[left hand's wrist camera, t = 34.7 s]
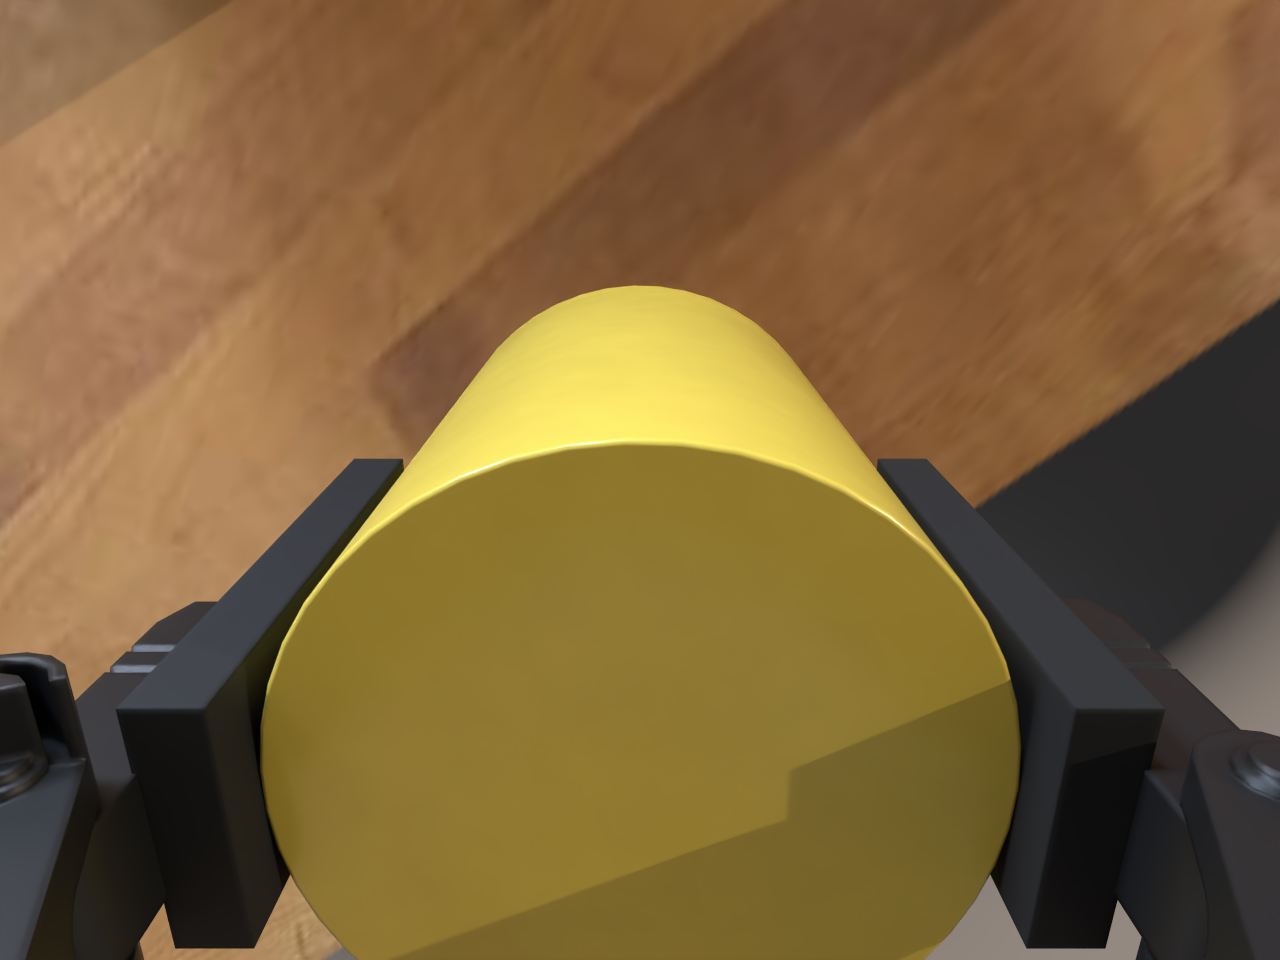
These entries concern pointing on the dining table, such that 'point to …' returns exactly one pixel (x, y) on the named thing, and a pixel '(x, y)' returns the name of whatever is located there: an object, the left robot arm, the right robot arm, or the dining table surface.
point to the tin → (640, 673)
